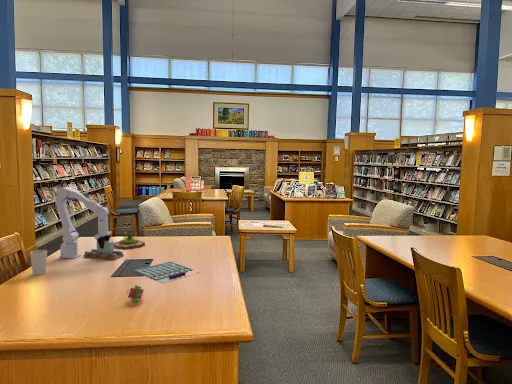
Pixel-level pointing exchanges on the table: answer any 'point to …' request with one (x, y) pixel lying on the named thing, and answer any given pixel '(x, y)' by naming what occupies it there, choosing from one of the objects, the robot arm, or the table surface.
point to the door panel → (106, 247)
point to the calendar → (164, 271)
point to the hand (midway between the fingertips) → (103, 247)
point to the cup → (38, 262)
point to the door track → (103, 255)
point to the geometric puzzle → (135, 293)
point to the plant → (129, 242)
